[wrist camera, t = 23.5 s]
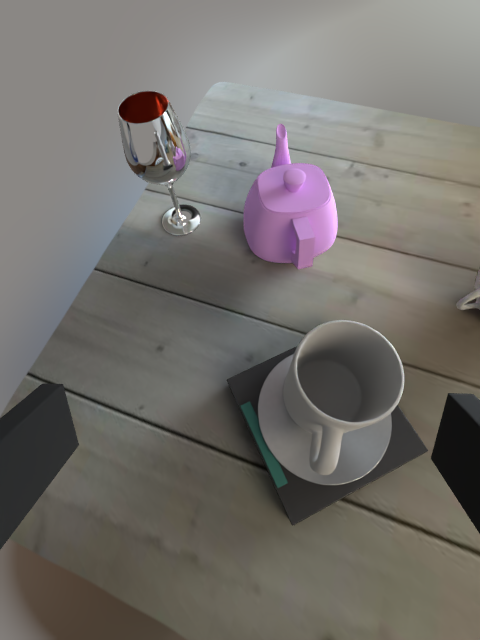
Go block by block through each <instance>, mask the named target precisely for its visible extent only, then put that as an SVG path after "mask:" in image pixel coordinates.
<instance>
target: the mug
mask: <svg viewBox="0 0 480 640" xmlns="http://www.w3.org/2000/svg"><path fill="white" fill-rule="evenodd" d="M403 388H404V371H403V366H402V363H401V360H400V358H399V355H398V354H397V352H396V350H395V349H394V347H393V346H392V345H391V343H390V342H389V341H388V340H387V339H386V338H385V337H384V336H383V335H381V334H380V333H379V332H377V331H376V330H374V329H373V328H371V327H369V326H367V325H364V324H362V323H358V322H354V321H348V320H337V321H330V322H327V323H324V324H321V325H319V326H317V327H315V328H314V329H312V330H311V331H309V332H308V333H307V334H306V335H305V336H304V337H303V339H302V340H301V341H300V343H299V344H298V346H297V348H296V351H295V353H294V356H293V359H292V362H291V365H290V368H289V371H288V374H287V376H286V379H285V382H284V388H283V397H284V403H285V406H286V409H287V411H288V413H289V415H290V416H291V418H292V419H293V420H294V421H295V423H296V424H298V425H299V426H300V427H301V428H302V429H304V430H305V431H307V432H309V433H312V441H311V447H310V456H309V463H310V467H311V469H312V470H313V471H314V472H316V473H318V474H320V475H329V474H331V473H332V472H333V471H334V470H335V468H336V465H337V462H338V459H339V454H340V448H341V441H342V436H343V433H346V432H349V431H352V430H356V429H360V428H363V427H366V426H369V425H372V424H375V423H377V422H379V421H381V420H382V419H384V418H385V417H386V416H388V415H389V414H390V413H391V412H392V411H393V410H394V409H395V407H396V406H397V404H398V403H399V400H400V398H401V396H402V392H403Z"/></svg>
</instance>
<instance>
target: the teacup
mask: <svg viewBox="0 0 480 640" xmlns="http://www.w3.org/2000/svg"><path fill="white" fill-rule="evenodd" d="M475 298H476V302H475V303H468V304H466V303H467V302H469V301H471V300H473V299H475ZM457 308H458V309H460V310H465V309H471V308H478V309H480V268H479V270H478V272H477V275H476V279H475V289H474V291H473V292H471V293H469V294H468V295H466V296H465V297H464V298H462V299H461V300H459V301H458V302H457Z"/></svg>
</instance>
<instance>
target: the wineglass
mask: <svg viewBox="0 0 480 640" xmlns="http://www.w3.org/2000/svg"><path fill="white" fill-rule="evenodd" d="M118 117H119V124H120V131H121V137H122V143H123V148H124V153H125V156H126V160H127V162H128V164H129V166H130V168H131V169H132V171H133V172H134V173H135V174H136V175H137V176H138V177H140V178H141V179H143V180H145V181H146V182H149V183H151V184H155V185H165V186H166V187H167V188H168V190H169V193H170V196H171V199H172V202H173V204H174V207H172V208H170V209H169V210H168V211H167V212H166V213H165V214H164V216H163V219H162V225H163V227H164V229H165V230H166V231H167V232H168V233H169V234H172V235H175V236H183V235H187V234H190V233H192V232H193V231H195V230H196V229H197V228H198V226H199V224H200V222H201V215H200V213H199V211H198V210H197V209H196V208H195V207H193V206H191V205H179V203H178V200H177V197H176V194H175V191H174V188H173V183H174V182H175V181H177V180H178V179H179V178H180V177H181V176H182V175H183V174H184V173H185V171H186V169H187V167H188V165H189V162H190V157H191V148H190V143H189V140H188V138H187V135H186V133H185V131H184V129H183V127H182V125H181V123H180V121H179V119H178V117H177V116H176V113H175V112H174V110H173V108H172V106H171V105H170V102H169V101H168V99H167V98H166V96H165V95H163V94H162V93H159V92H155V91H142V92H138V93H135V94H132V95H130V96H128V97H127V98H125V99H124V100H123V101H122V102H121V103H120V105H119V107H118Z"/></svg>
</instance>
